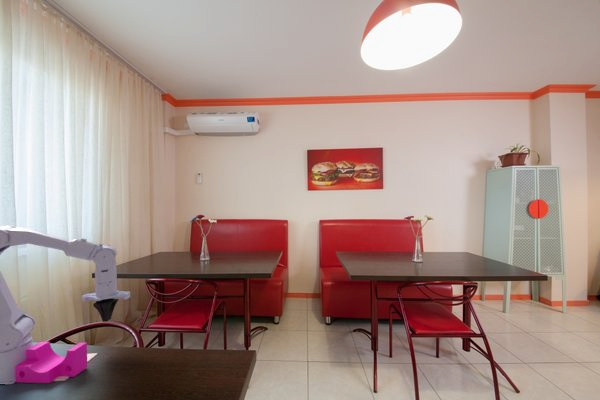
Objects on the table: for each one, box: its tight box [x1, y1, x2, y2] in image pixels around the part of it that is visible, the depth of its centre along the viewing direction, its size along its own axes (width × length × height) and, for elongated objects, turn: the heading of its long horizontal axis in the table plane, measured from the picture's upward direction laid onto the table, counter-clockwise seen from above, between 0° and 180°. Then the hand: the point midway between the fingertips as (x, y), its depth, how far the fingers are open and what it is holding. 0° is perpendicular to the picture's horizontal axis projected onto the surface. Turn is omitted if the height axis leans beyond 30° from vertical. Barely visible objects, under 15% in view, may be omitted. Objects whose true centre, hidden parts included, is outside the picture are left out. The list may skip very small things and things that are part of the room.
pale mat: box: [52, 352, 99, 382], centre depth 69 cm, size 8×11×1 cm
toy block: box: [15, 341, 88, 384], centre depth 66 cm, size 15×6×8 cm, turn 86°
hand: (107, 320), depth 79 cm, fingers closed
